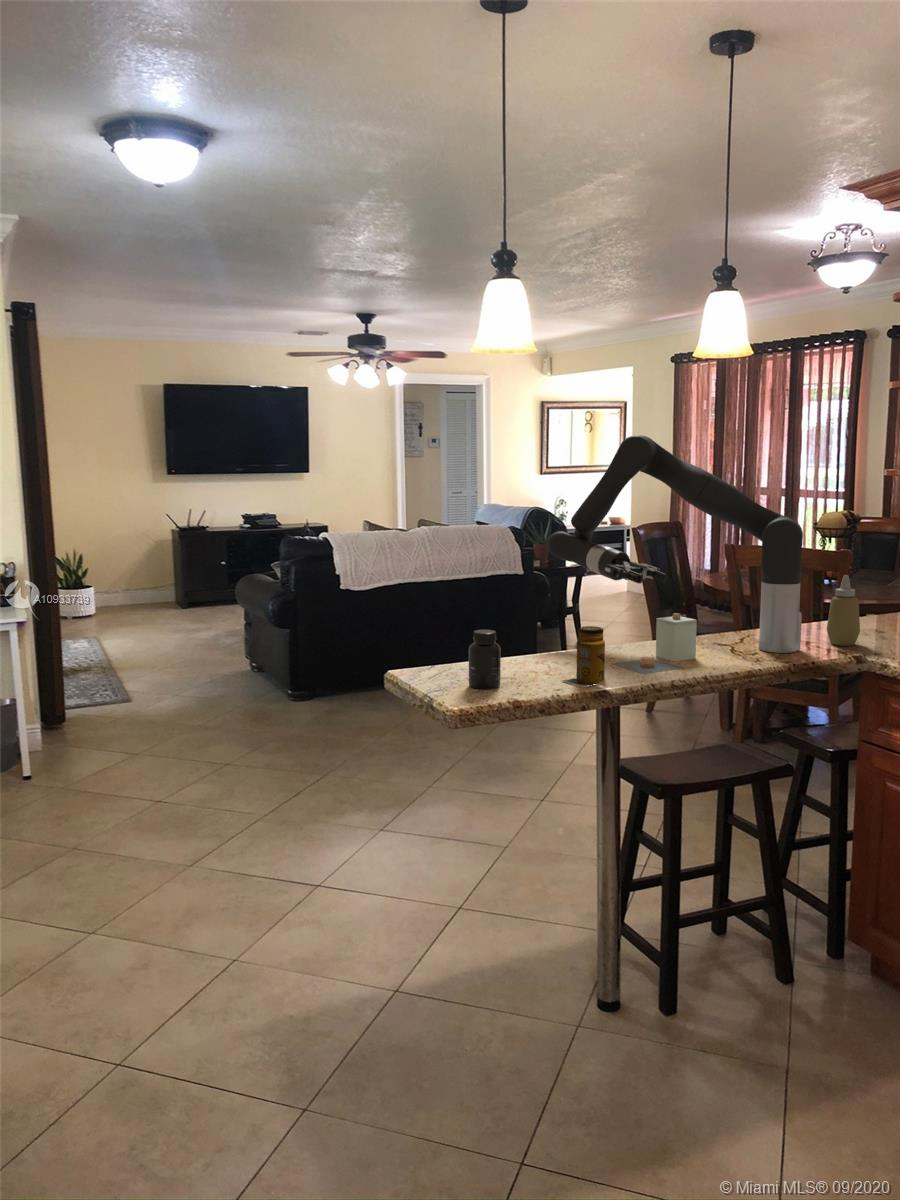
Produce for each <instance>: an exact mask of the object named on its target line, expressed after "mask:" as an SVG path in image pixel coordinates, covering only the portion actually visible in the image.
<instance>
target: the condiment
mask: <svg viewBox="0 0 900 1200" xmlns="http://www.w3.org/2000/svg"><path fill="white" fill-rule="evenodd" d="M605 641H606V640H604V628H603V627H601V626H596V625H595V626H593V625H591V626H590V625H589V626H581V627H579V629H578V639H577V641H576V673H575V674H576V675H575V676H576V678H570V679H562V680H560V681H561V682H563V683H566V684H569V685H572V686H576V687H578V688H589V687H592V686H591V685H593V684H599V682H603V681H604V680H605V670H606V669H605V666H606V665H605V663H606V661H605V660H606V658H605V657H606V656H605V655H606V642H605ZM586 685H589V686H586ZM593 687H596V686H595V685H594V686H593Z"/></svg>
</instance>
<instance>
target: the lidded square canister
mask: <svg viewBox="0 0 900 1200" xmlns="http://www.w3.org/2000/svg"><path fill="white" fill-rule="evenodd" d="M697 623H698V622H697V619H694V618H689V617H684V616H681V613H676V612H675V613H672V616H665V617H657V618H656V630H655V631H656V632H655V634H656V636H655V637H656V638H655V657H656V658H661V659H664V660H667V661H671V662H682V661H689V660H695V659H696V656H697V655H696V654H697V653H696V652H697V626H698V625H697Z"/></svg>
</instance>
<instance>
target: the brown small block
mask: <svg viewBox="0 0 900 1200" xmlns="http://www.w3.org/2000/svg"><path fill="white" fill-rule="evenodd" d="M639 660H640V666H641V667H654V660H656V659H655V658H654V657H653V656H641V657H640V659H639Z"/></svg>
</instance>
